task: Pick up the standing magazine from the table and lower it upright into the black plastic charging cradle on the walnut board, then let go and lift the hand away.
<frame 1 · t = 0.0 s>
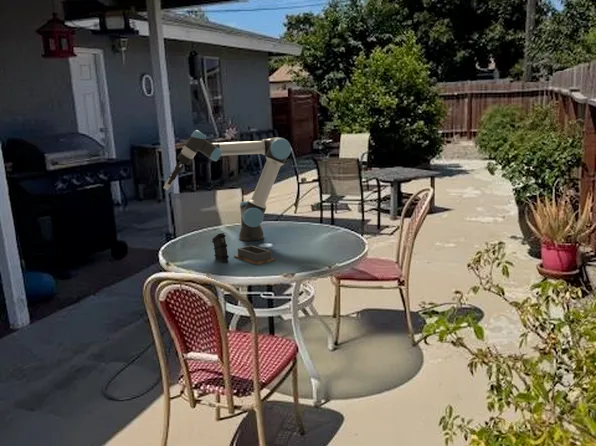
hand: (166, 187, 313), 36 cm above the table, tool tilted 35°, fingers open, 13 cm apart
cradle: (254, 257, 294), resting on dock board
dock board: (254, 258, 294), on the table
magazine: (220, 260, 294), on the table
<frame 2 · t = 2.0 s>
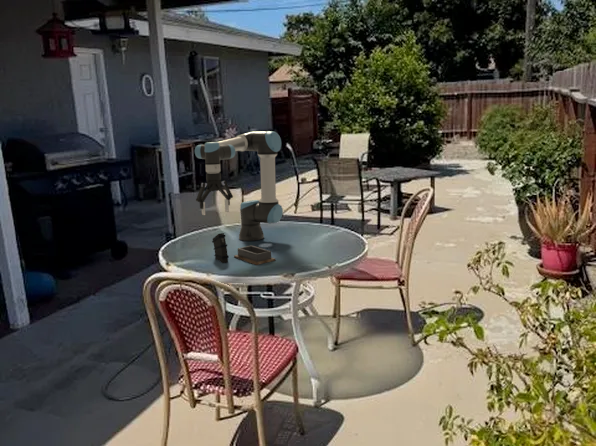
hand: (215, 213, 289), 25 cm above the table, tool pointing down, fingers open, 13 cm apart
nothing on the table moved.
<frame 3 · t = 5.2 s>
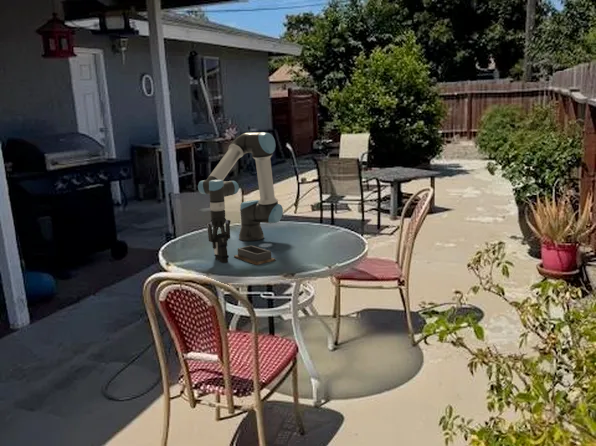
hand: (220, 253, 293), 4 cm above the table, tool pointing down, fingers closed on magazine, 4 cm apart
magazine: (220, 260, 294), on the table, touching gripper
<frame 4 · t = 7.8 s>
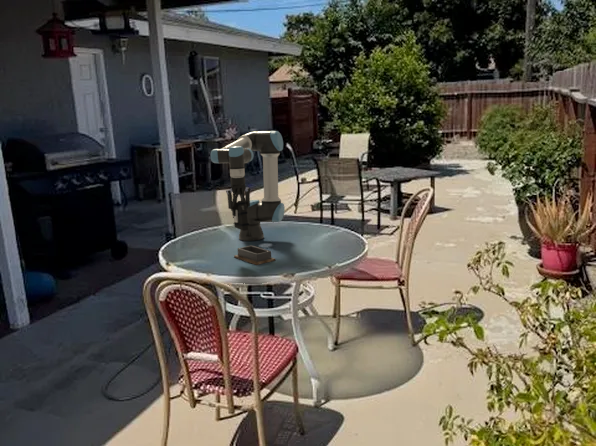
hand: (240, 221, 290), 21 cm above the table, tool pointing down, fingers closed on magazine, 4 cm apart
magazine: (240, 228, 291), point 17 cm above the table, touching gripper
when the fingers open (6 cm above the table, at t = 10.7 s): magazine drops 1 cm, resting on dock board.
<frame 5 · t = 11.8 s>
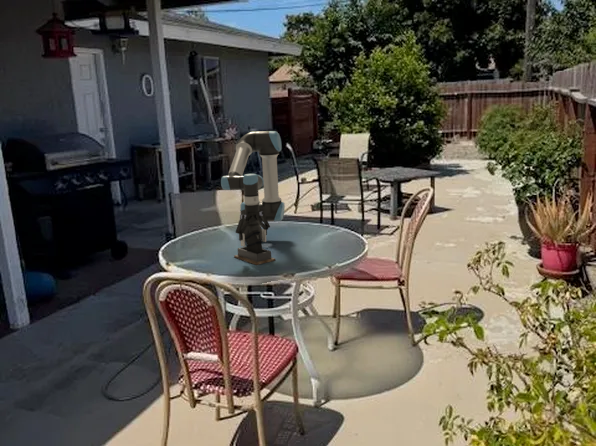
hand: (253, 243, 293), 8 cm above the table, tool pointing down, fingers open, 13 cm apart
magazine: (254, 257, 294), point 1 cm above the table, touching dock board
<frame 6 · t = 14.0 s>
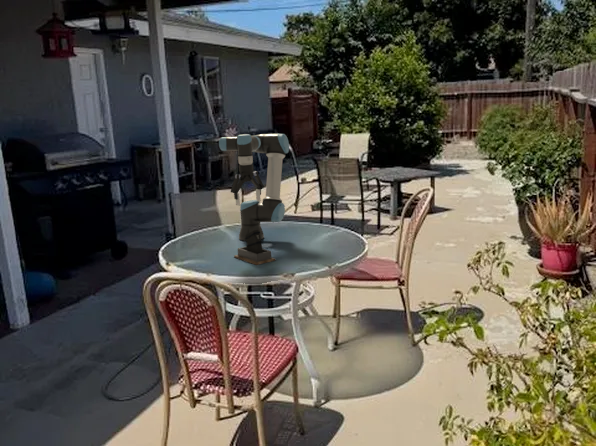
hand: (248, 203, 300), 28 cm above the table, tool pointing down, fingers open, 13 cm apart
nothing on the table moved.
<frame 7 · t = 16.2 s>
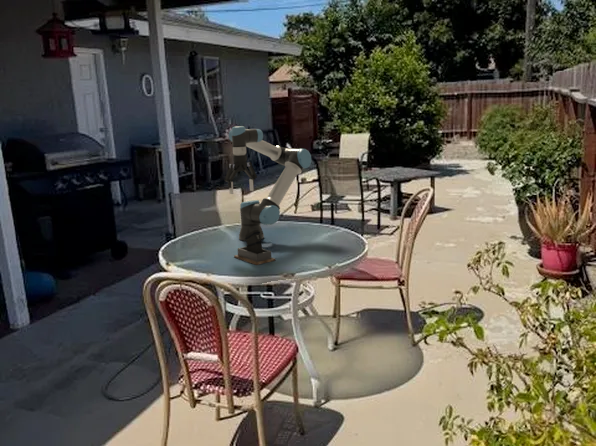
hand: (241, 192, 314), 32 cm above the table, tool pointing down, fingers open, 13 cm apart
nothing on the table moved.
at the end: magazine 0.1 cm off-centre on the cradle, point 0.0 cm above the cradle's base; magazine tilted 2°; the gripper is holding nothing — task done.
